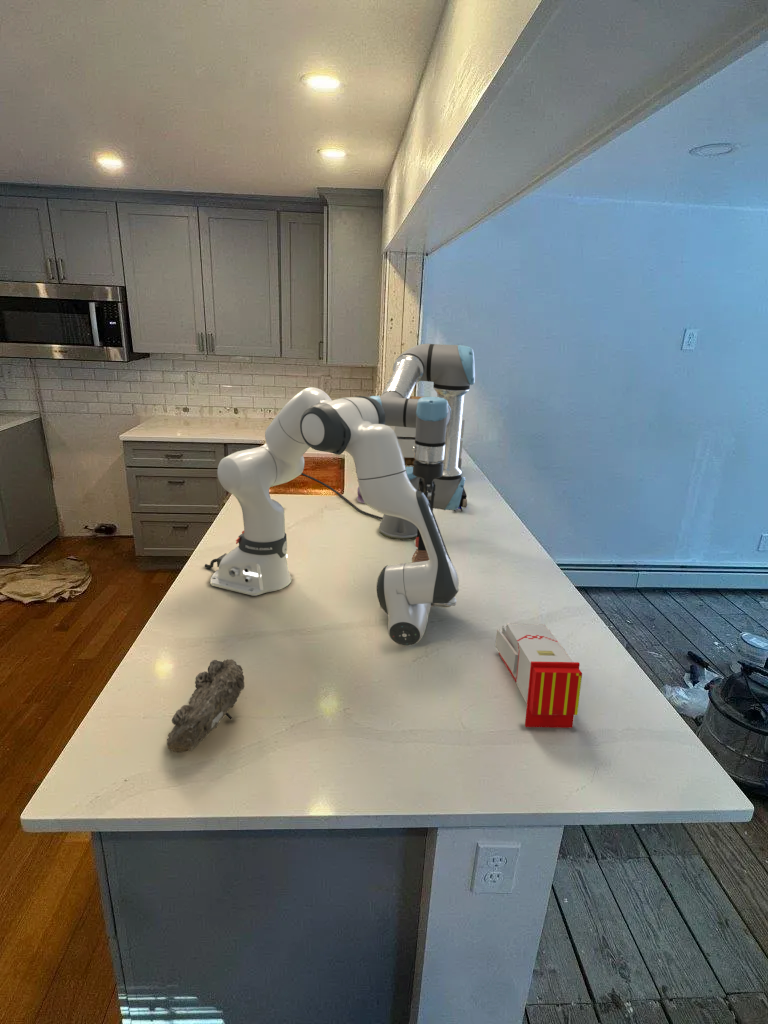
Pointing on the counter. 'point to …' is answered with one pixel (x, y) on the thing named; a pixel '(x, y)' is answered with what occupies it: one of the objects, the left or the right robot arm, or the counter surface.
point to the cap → (417, 541)
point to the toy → (541, 674)
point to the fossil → (206, 705)
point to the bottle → (420, 556)
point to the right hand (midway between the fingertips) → (422, 546)
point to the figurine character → (463, 500)
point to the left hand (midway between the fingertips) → (420, 577)
